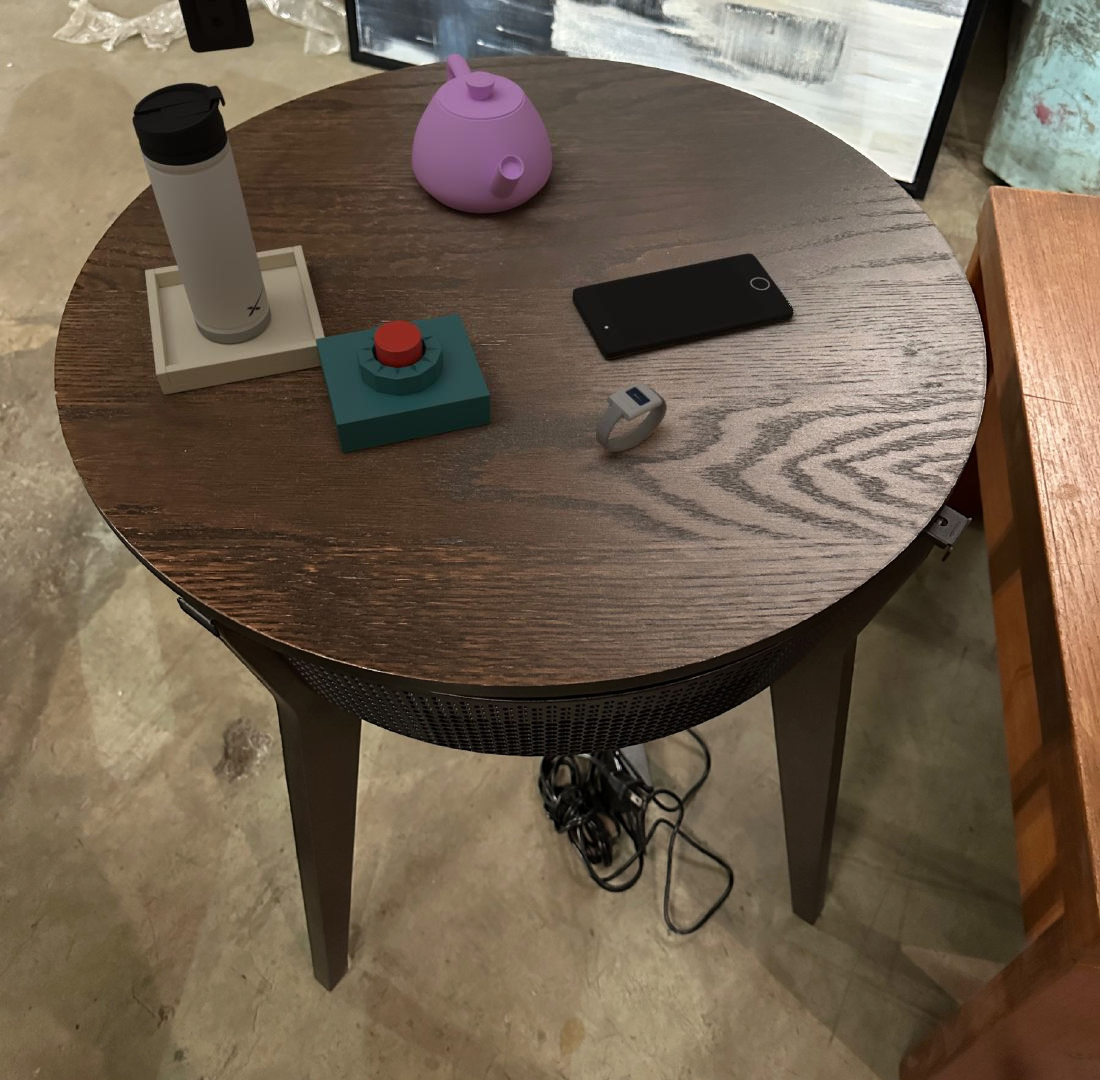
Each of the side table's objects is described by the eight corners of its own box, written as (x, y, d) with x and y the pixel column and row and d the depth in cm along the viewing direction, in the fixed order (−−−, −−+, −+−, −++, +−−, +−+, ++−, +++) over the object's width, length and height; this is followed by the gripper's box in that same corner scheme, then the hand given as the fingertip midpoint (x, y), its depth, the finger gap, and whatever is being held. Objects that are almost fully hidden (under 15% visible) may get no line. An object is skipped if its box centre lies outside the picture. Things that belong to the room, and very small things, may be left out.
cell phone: (794, 319, 91) (796, 311, 90) (605, 361, 87) (605, 353, 86) (750, 259, 96) (752, 251, 95) (570, 296, 92) (570, 288, 91)
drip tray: (163, 395, 84) (155, 374, 82) (152, 290, 91) (144, 269, 90) (330, 364, 86) (326, 343, 84) (305, 265, 94) (301, 244, 92)
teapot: (446, 256, 95) (439, 152, 87) (393, 141, 107) (382, 40, 98) (585, 230, 99) (591, 127, 90) (519, 121, 110) (519, 20, 101)
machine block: (342, 453, 80) (333, 407, 76) (321, 367, 86) (312, 321, 82) (491, 423, 83) (489, 377, 79) (460, 342, 88) (458, 296, 84)
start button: (381, 372, 79) (379, 355, 78) (372, 341, 81) (370, 324, 80) (427, 363, 80) (425, 346, 79) (417, 333, 82) (415, 316, 81)
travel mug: (282, 334, 87) (230, 112, 71) (204, 352, 86) (133, 130, 70) (266, 289, 91) (214, 69, 75) (191, 306, 89) (120, 84, 73)
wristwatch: (609, 470, 80) (613, 425, 76) (587, 448, 81) (591, 403, 77) (669, 437, 82) (677, 391, 78) (647, 416, 84) (654, 371, 80)
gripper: (7, -480, 42) (138, -15, 57) (2, -392, 33) (157, 129, 48) (195, -484, 44) (275, -30, 58) (236, -400, 35) (318, 108, 50)
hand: (222, 41), depth 53 cm, fingers closed
